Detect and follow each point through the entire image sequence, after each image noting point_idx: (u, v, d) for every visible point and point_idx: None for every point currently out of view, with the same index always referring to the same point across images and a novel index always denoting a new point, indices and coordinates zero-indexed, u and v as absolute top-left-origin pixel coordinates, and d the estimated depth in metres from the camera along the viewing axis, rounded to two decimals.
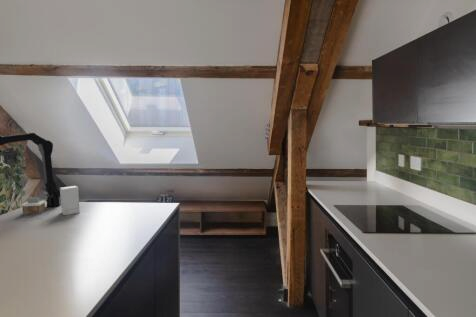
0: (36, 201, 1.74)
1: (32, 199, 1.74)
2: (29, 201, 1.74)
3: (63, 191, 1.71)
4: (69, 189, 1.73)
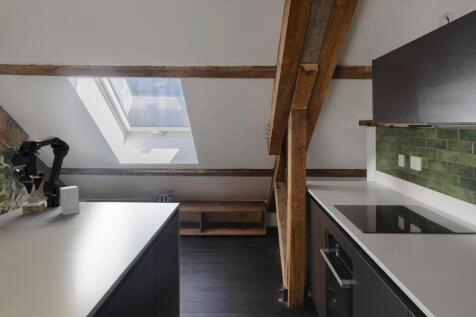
0: (36, 201, 1.74)
1: (32, 199, 1.74)
2: (29, 201, 1.74)
3: (63, 191, 1.71)
4: (69, 189, 1.73)
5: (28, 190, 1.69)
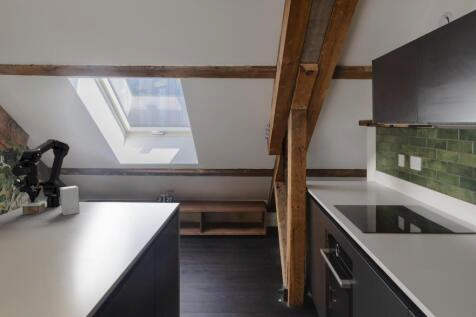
0: (36, 201, 1.74)
1: None
2: (29, 201, 1.74)
3: (63, 191, 1.71)
4: (69, 189, 1.73)
5: (31, 199, 1.73)
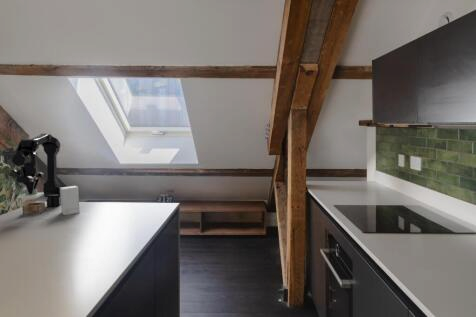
0: (34, 193, 1.65)
1: None
2: (26, 193, 1.64)
3: (63, 191, 1.71)
4: (69, 189, 1.73)
5: (29, 190, 1.64)
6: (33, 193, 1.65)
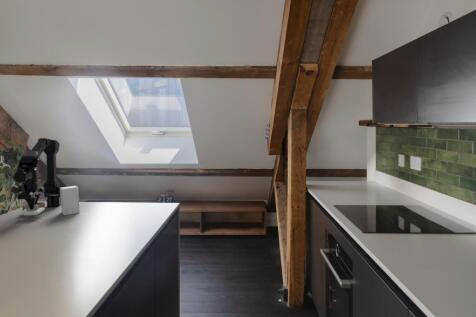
0: (35, 209, 1.66)
1: None
2: (28, 209, 1.65)
3: (63, 191, 1.71)
4: (69, 189, 1.73)
5: (30, 206, 1.64)
6: (34, 209, 1.66)
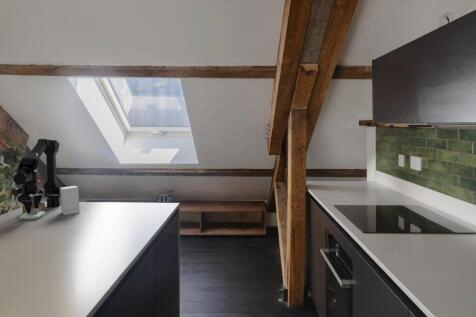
0: (35, 213, 1.66)
1: (31, 210, 1.66)
2: (28, 213, 1.65)
3: (63, 191, 1.71)
4: (69, 189, 1.73)
5: (27, 209, 1.61)
6: (34, 213, 1.66)
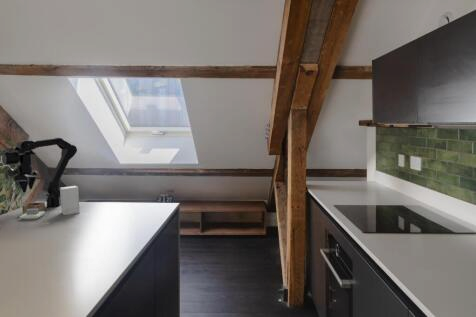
0: (35, 213, 1.66)
1: (31, 210, 1.66)
2: (28, 213, 1.65)
3: (63, 191, 1.71)
4: (69, 189, 1.73)
5: (23, 189, 1.74)
6: (34, 213, 1.66)
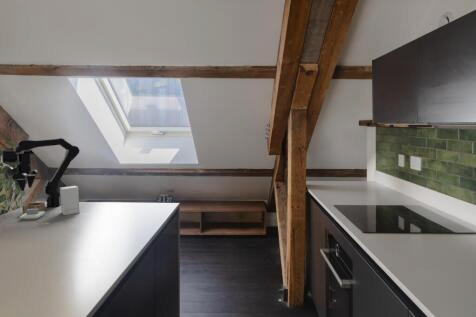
0: (35, 213, 1.66)
1: (31, 210, 1.66)
2: (28, 213, 1.65)
3: (63, 191, 1.71)
4: (69, 189, 1.73)
5: (21, 187, 1.77)
6: (34, 213, 1.66)
